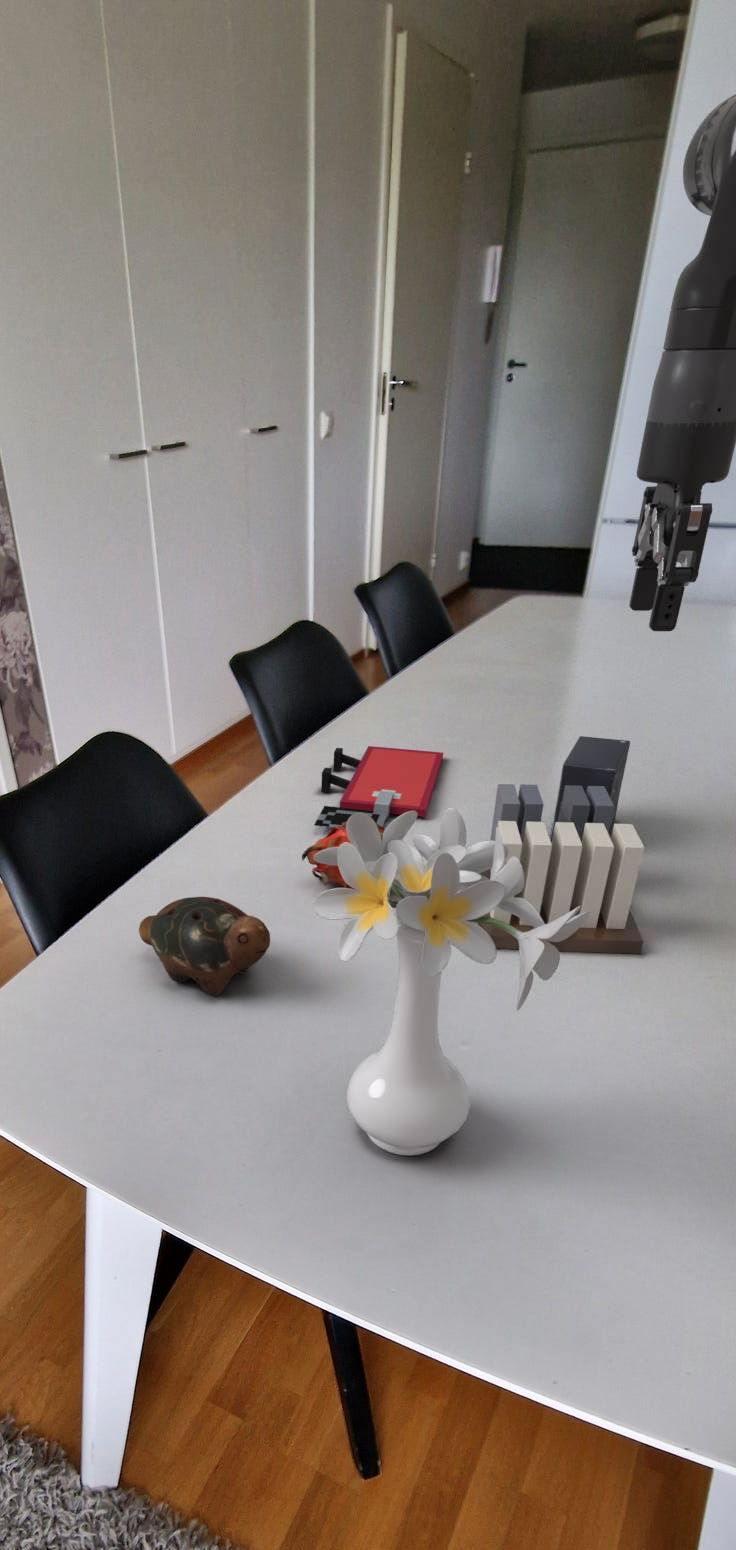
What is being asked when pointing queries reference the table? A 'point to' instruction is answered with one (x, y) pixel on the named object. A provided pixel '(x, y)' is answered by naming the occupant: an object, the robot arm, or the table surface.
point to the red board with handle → (381, 784)
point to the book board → (574, 935)
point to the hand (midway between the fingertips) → (650, 619)
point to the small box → (594, 769)
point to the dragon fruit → (331, 840)
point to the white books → (579, 870)
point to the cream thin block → (561, 871)
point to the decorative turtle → (205, 940)
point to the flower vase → (426, 960)
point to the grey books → (573, 807)
